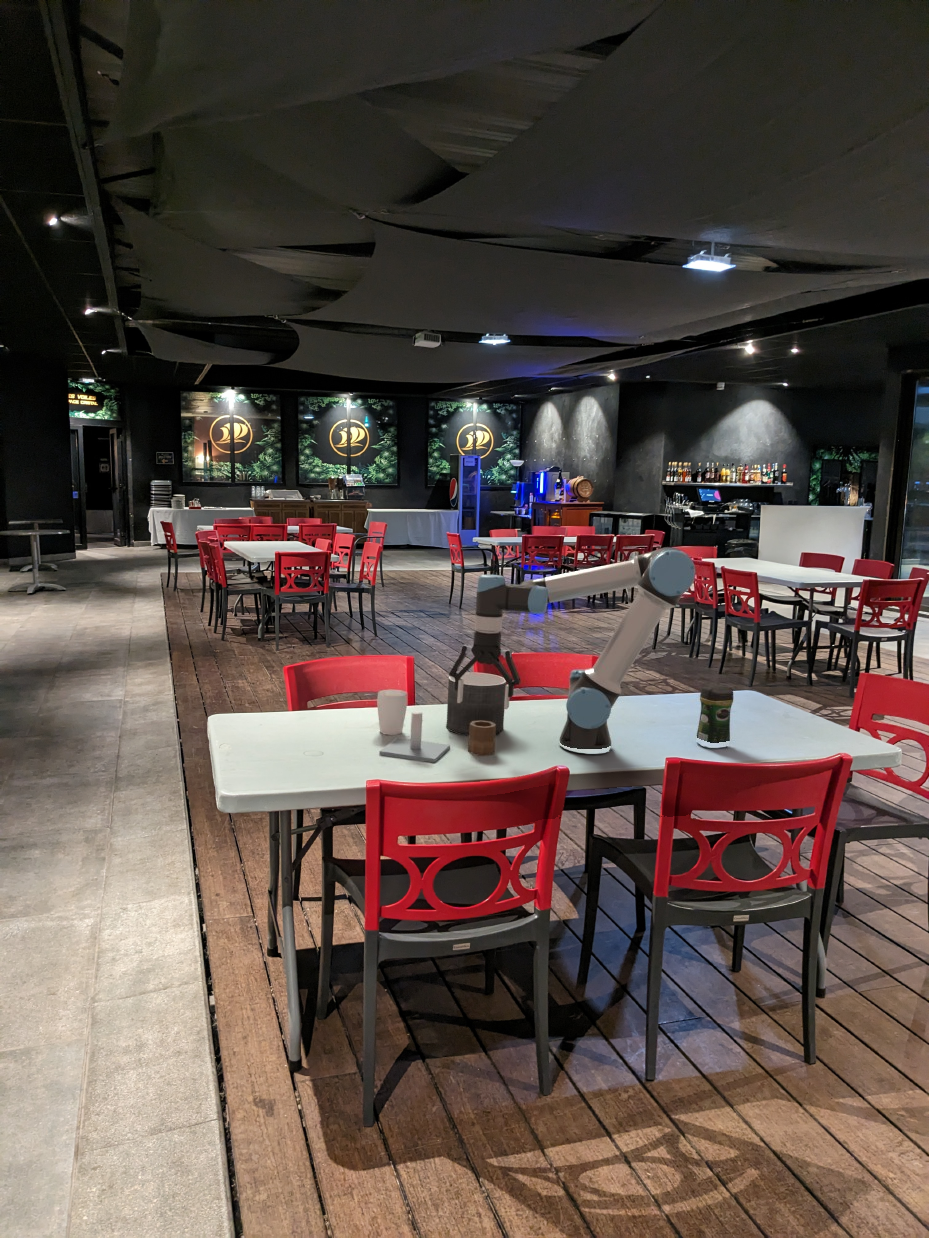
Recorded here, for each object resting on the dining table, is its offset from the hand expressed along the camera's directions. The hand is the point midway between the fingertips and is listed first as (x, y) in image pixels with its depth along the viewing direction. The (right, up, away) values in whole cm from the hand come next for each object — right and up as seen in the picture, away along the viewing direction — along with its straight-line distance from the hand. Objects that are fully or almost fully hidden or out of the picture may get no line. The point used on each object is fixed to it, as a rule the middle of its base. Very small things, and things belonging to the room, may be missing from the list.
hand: (482, 705), depth 240 cm
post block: (-19, -13, -1) cm, 23 cm away
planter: (-2, -10, +25) cm, 27 cm away
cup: (-27, -10, +17) cm, 33 cm away
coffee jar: (+70, -14, +19) cm, 74 cm away
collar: (0, -13, +2) cm, 14 cm away
